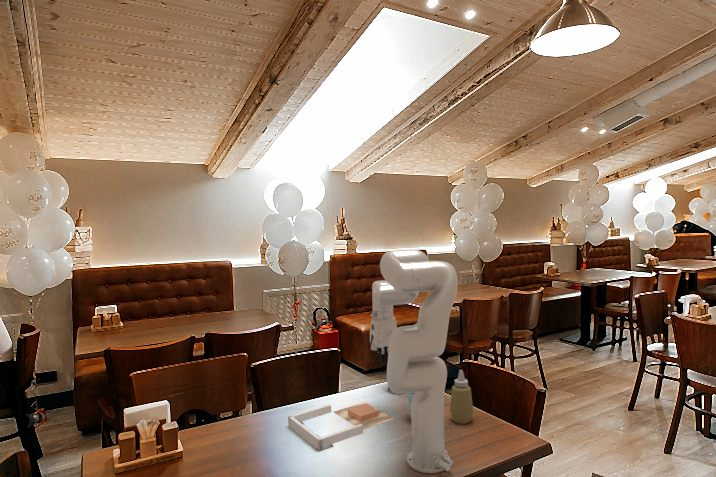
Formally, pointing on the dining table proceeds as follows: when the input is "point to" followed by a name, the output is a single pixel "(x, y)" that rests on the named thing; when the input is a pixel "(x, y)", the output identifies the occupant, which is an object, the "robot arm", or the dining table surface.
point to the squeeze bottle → (461, 400)
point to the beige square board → (367, 423)
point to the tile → (363, 412)
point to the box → (314, 439)
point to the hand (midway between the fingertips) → (383, 363)
